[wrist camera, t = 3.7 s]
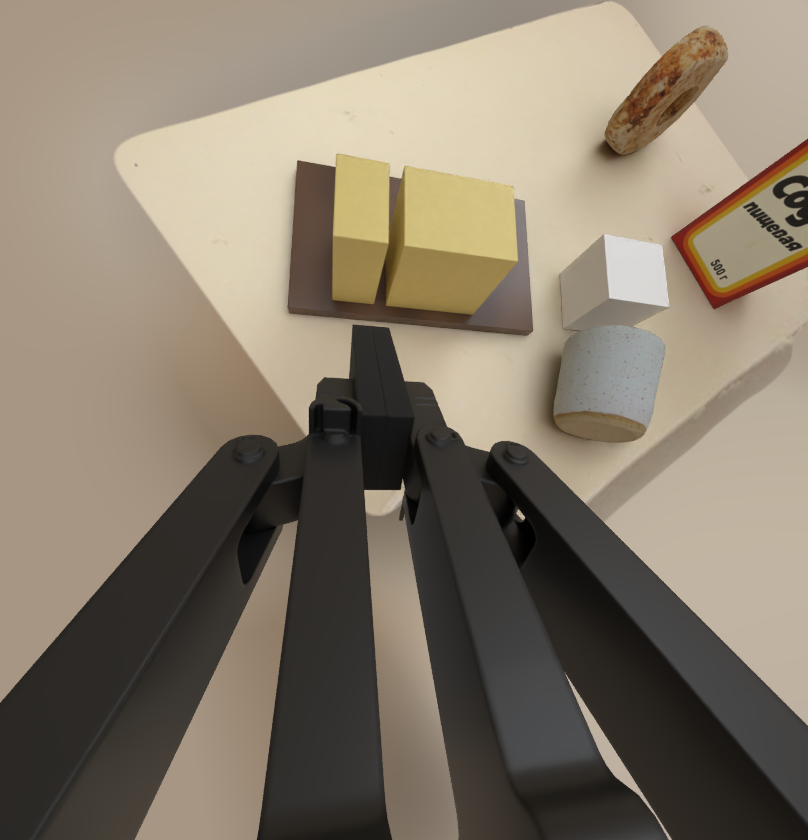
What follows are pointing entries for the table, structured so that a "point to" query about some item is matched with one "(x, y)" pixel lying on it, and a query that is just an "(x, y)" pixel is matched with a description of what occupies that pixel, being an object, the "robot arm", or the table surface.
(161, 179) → the table surface
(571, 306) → the white cube
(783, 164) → the baking soda box
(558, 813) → the robot arm
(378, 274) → the block
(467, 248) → the butter block
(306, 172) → the butter board
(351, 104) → the table surface
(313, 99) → the table surface
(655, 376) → the ceramic mug
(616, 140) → the stone disc
